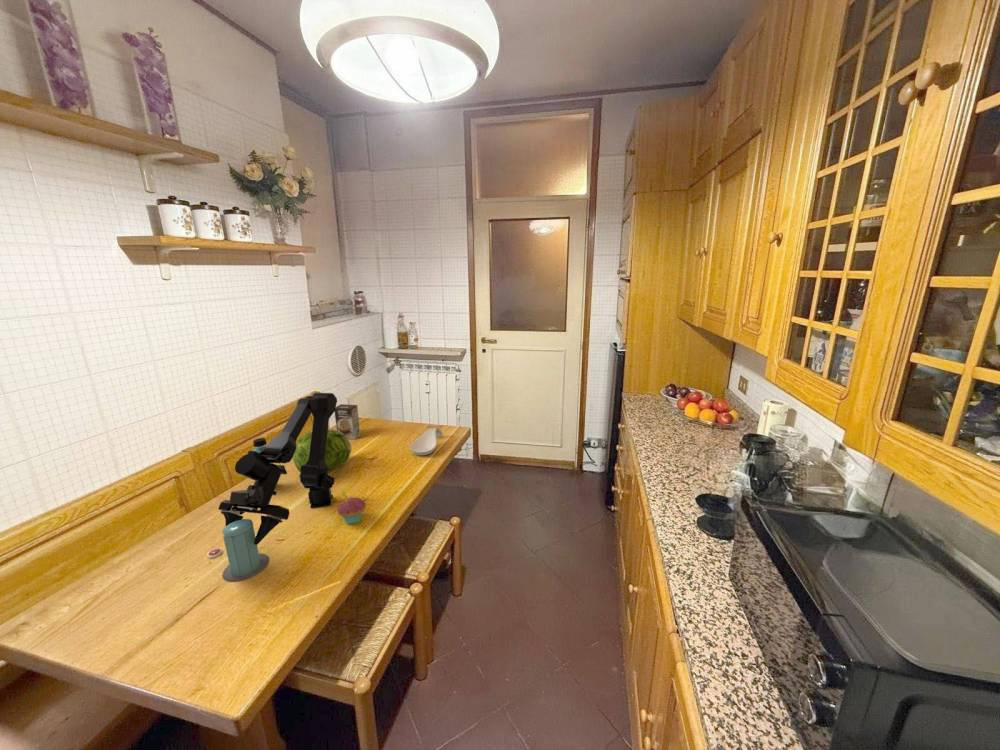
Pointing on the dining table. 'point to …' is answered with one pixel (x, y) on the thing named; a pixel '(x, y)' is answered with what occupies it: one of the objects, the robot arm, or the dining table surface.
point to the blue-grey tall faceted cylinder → (241, 547)
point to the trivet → (231, 578)
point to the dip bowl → (214, 553)
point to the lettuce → (334, 452)
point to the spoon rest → (426, 442)
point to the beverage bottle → (259, 445)
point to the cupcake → (351, 509)
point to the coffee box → (347, 420)
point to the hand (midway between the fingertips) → (240, 542)
